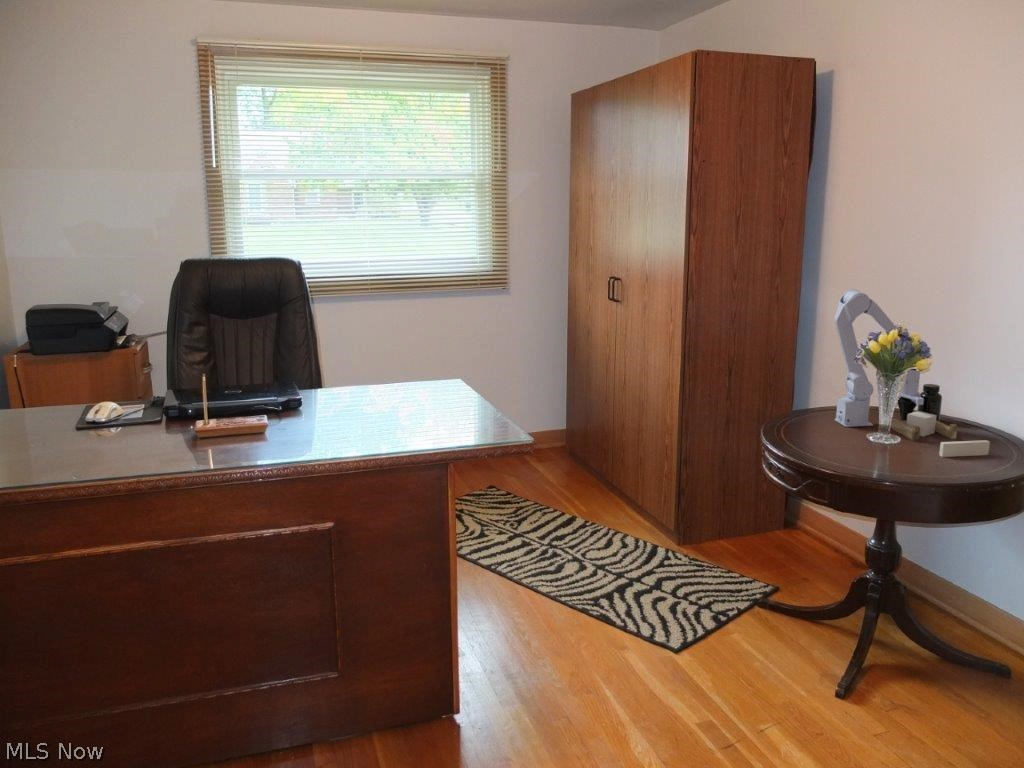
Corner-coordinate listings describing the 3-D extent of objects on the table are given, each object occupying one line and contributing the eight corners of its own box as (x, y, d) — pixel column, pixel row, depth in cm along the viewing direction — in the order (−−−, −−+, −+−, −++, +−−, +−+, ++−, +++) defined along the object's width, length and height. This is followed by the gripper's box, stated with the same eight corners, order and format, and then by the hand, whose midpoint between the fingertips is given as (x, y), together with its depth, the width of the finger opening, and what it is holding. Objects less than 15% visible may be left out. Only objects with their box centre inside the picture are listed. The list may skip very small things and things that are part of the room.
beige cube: (923, 436, 248) (925, 418, 246) (905, 432, 253) (907, 414, 251) (934, 433, 251) (936, 415, 249) (916, 428, 256) (918, 410, 254)
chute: (913, 440, 244) (915, 427, 243) (889, 427, 257) (890, 414, 256) (955, 439, 245) (957, 425, 244) (929, 425, 258) (930, 412, 257)
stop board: (942, 456, 229) (943, 443, 228) (939, 455, 231) (940, 442, 230) (988, 454, 230) (989, 441, 229) (984, 453, 232) (986, 440, 231)
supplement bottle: (940, 419, 265) (944, 384, 262) (938, 424, 260) (942, 389, 257) (917, 416, 269) (921, 382, 266) (915, 421, 263) (919, 386, 260)
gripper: (934, 385, 250) (929, 426, 253) (908, 374, 264) (904, 413, 267) (913, 385, 249) (908, 426, 253) (888, 375, 263) (884, 414, 267)
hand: (905, 420), depth 260 cm, fingers closed
